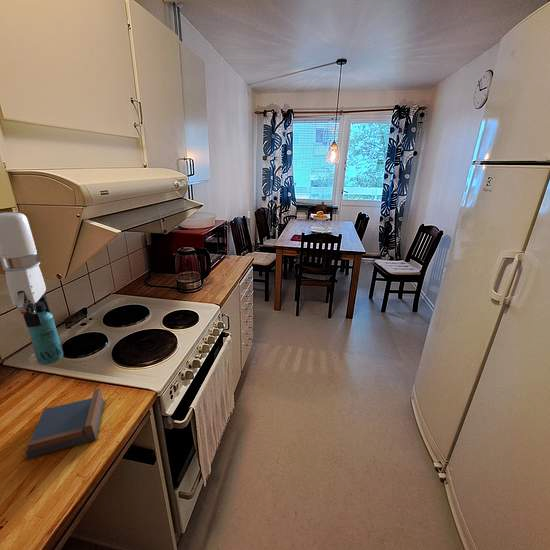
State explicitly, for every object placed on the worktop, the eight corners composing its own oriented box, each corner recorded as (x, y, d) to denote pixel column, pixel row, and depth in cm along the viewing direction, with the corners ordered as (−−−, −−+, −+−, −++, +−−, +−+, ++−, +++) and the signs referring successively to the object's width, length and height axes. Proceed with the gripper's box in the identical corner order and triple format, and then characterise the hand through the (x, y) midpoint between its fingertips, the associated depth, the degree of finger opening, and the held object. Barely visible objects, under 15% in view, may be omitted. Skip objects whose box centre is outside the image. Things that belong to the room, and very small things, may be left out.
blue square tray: (28, 458, 72) (21, 443, 70) (46, 415, 84) (40, 401, 82) (96, 439, 77) (91, 425, 75) (103, 401, 89) (100, 388, 87)
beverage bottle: (33, 367, 85) (12, 307, 77) (54, 353, 91) (37, 297, 83) (51, 371, 83) (31, 311, 76) (71, 357, 89) (55, 300, 82)
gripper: (16, 252, 81) (34, 307, 88) (-15, 273, 66) (9, 338, 73) (48, 250, 84) (63, 304, 90) (25, 270, 69) (45, 333, 75)
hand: (39, 319), depth 82 cm, fingers closed on beverage bottle, 6 cm apart
